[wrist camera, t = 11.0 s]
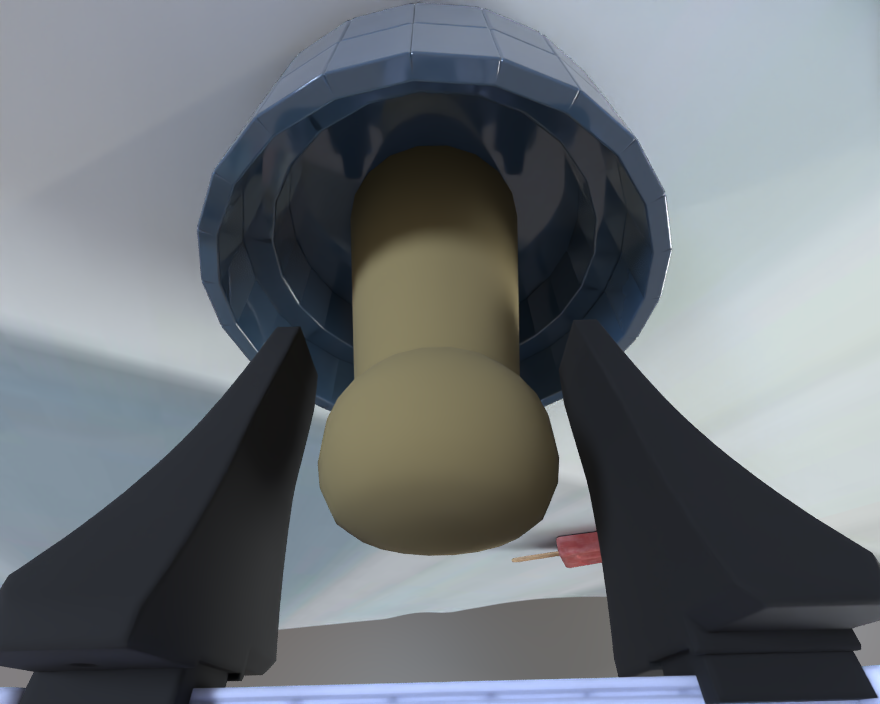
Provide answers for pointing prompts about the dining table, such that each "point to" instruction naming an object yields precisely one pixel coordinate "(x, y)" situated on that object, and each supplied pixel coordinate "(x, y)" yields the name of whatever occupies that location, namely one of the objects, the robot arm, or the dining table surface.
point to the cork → (436, 367)
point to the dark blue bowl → (433, 124)
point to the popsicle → (573, 550)
